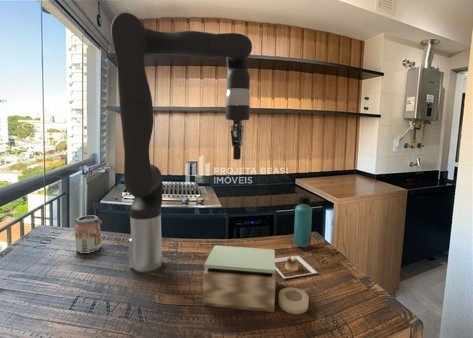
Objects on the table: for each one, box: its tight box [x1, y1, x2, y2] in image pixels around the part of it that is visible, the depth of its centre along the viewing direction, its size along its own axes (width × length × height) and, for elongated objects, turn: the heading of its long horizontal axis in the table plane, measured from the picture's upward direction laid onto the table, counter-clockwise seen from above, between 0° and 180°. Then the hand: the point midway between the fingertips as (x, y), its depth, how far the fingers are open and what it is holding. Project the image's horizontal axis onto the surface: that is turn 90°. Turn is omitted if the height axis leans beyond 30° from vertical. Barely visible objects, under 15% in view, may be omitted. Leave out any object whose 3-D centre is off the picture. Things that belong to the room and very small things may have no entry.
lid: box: [203, 245, 276, 274], centre depth 74 cm, size 18×14×1 cm
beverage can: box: [74, 214, 103, 253], centre depth 99 cm, size 9×8×12 cm
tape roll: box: [278, 286, 310, 315], centre depth 71 cm, size 8×8×2 cm
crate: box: [202, 268, 276, 313], centre depth 75 cm, size 18×14×9 cm
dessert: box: [275, 255, 318, 280], centre depth 89 cm, size 12×12×5 cm
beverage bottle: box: [293, 195, 313, 248], centre depth 103 cm, size 6×7×20 cm
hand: (236, 159), depth 88 cm, fingers closed
